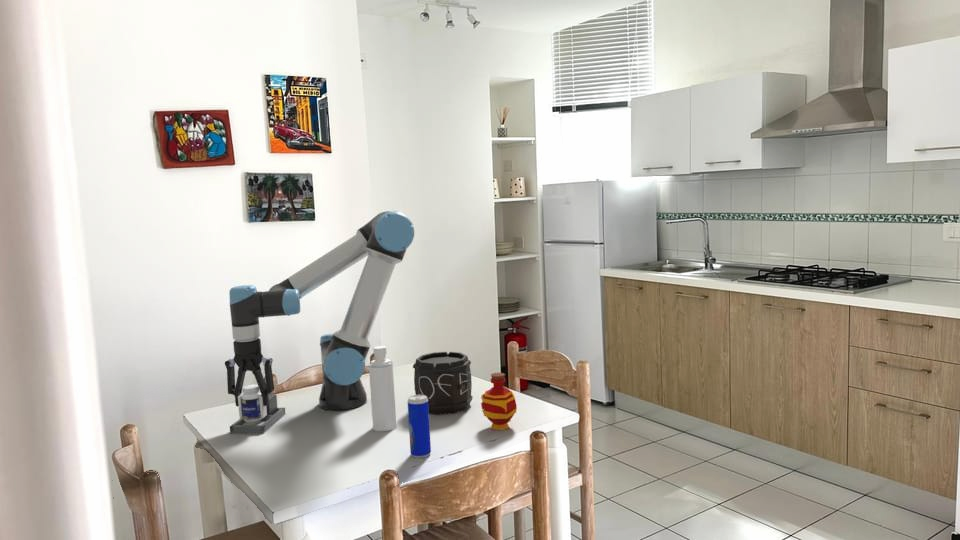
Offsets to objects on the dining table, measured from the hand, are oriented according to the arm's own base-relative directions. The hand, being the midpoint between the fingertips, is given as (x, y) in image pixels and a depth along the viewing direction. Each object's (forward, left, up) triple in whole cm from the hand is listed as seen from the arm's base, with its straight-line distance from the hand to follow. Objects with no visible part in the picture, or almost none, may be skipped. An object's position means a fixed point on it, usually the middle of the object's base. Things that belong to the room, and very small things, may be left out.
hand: (253, 416), depth 201 cm
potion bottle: (-72, +3, -4) cm, 73 cm away
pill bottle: (0, 0, -1) cm, 1 cm away
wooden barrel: (-54, -16, -4) cm, 57 cm away
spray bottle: (-39, +2, -4) cm, 40 cm away
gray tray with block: (0, -3, -3) cm, 5 cm away
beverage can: (-53, +23, -4) cm, 58 cm away
